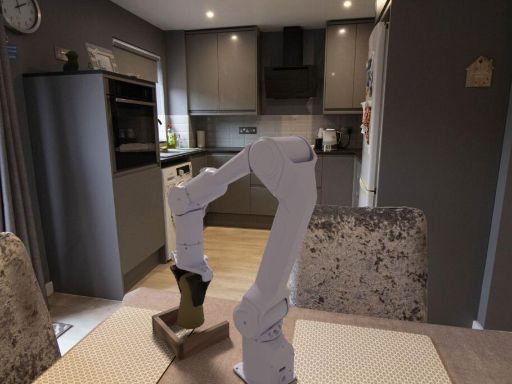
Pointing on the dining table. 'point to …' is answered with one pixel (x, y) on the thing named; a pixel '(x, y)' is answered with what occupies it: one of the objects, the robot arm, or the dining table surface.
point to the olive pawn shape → (188, 307)
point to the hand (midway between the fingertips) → (192, 299)
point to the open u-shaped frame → (190, 343)
